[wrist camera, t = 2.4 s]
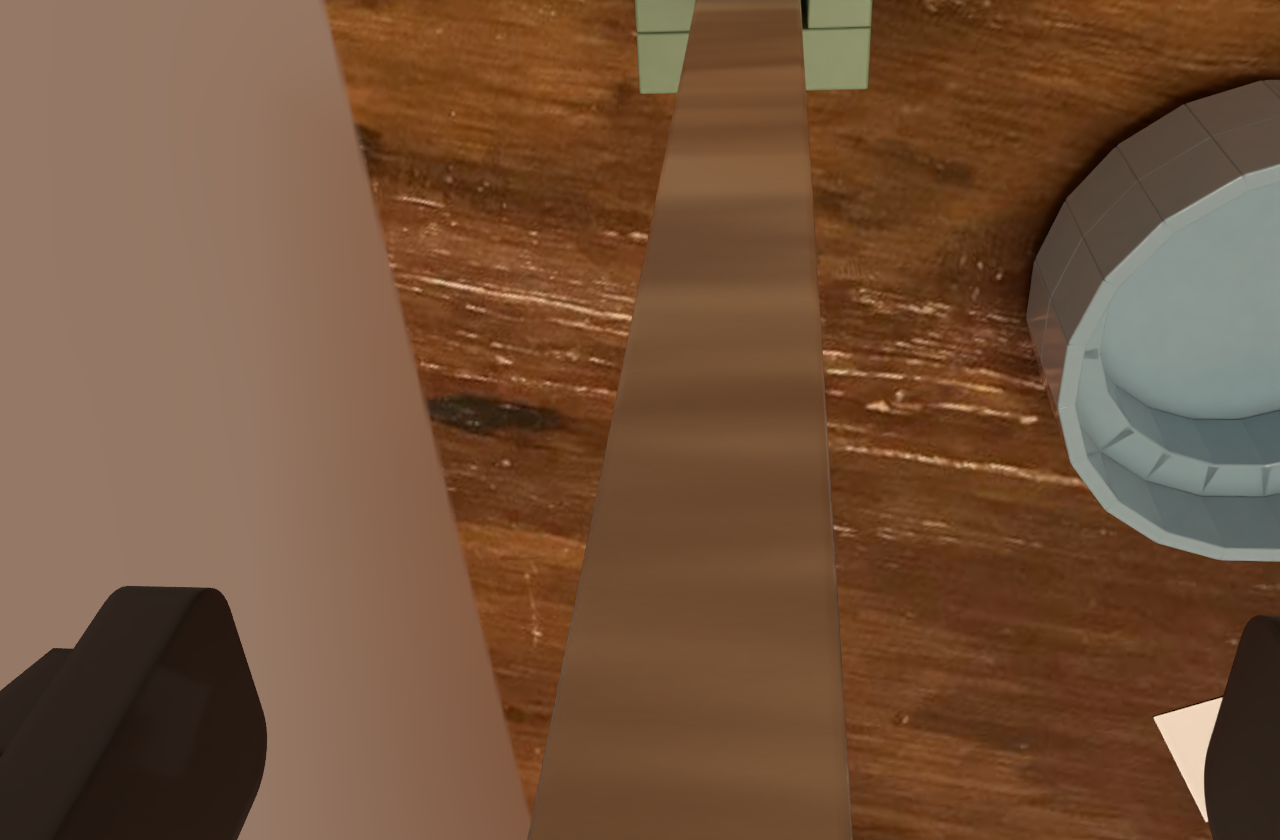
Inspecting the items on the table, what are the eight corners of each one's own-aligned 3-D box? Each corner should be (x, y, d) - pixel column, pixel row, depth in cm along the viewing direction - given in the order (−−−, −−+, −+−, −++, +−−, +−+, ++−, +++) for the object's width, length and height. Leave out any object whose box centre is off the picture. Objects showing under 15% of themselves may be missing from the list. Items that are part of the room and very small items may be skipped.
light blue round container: (1052, 74, 35) (1099, 152, 30) (1538, 63, 34) (1671, 143, 29) (1002, 444, 42) (1032, 557, 37) (1400, 448, 41) (1486, 566, 36)
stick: (718, -119, 33) (484, 1032, 6) (793, -122, 33) (866, 1057, 6) (720, -42, 34) (523, 1212, 8) (791, -45, 34) (850, 1237, 7)
